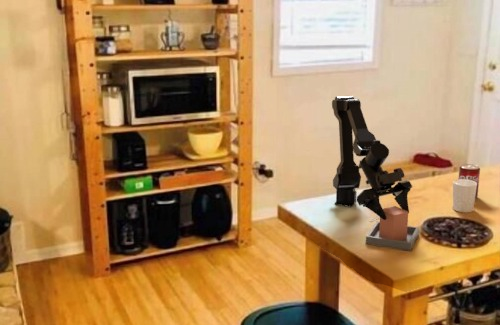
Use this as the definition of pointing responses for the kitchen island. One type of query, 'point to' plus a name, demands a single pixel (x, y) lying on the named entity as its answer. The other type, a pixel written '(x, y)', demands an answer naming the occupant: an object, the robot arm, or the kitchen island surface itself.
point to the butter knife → (374, 219)
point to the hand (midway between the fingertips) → (396, 216)
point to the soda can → (470, 174)
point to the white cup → (464, 195)
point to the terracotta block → (394, 224)
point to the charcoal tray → (404, 244)
